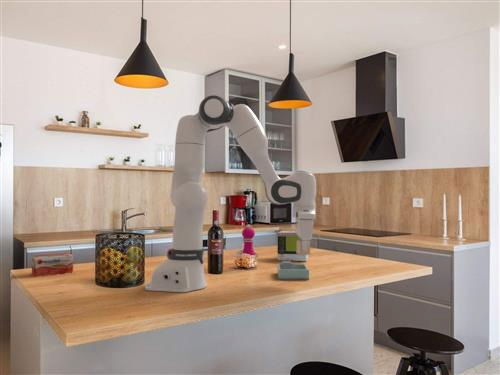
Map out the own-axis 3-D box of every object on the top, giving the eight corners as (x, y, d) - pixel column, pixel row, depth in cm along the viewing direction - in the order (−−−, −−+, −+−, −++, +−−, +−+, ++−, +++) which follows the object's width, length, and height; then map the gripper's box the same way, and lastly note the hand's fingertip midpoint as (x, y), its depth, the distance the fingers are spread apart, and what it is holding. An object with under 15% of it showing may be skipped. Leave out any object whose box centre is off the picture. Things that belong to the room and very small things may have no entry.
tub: (279, 279, 165) (279, 269, 166) (277, 273, 178) (277, 263, 178) (309, 279, 165) (309, 269, 165) (305, 273, 178) (305, 264, 178)
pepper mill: (254, 268, 188) (254, 225, 188) (238, 268, 189) (239, 225, 189) (257, 266, 195) (257, 224, 195) (242, 265, 196) (242, 223, 197)
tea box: (308, 258, 217) (308, 230, 217) (306, 262, 207) (306, 232, 207) (280, 257, 220) (280, 230, 221) (277, 260, 211) (277, 231, 211)
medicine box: (34, 277, 168) (34, 258, 168) (31, 274, 174) (31, 255, 174) (73, 273, 176) (73, 254, 177) (69, 270, 183) (69, 252, 183)
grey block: (282, 274, 172) (282, 262, 172) (281, 272, 176) (281, 261, 176) (291, 274, 172) (291, 262, 172) (290, 272, 176) (290, 261, 176)
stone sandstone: (300, 254, 154) (300, 241, 154) (296, 253, 158) (296, 240, 158) (309, 254, 155) (310, 241, 155) (306, 253, 159) (306, 240, 159)
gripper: (293, 211, 167) (292, 245, 167) (298, 214, 147) (297, 252, 147) (308, 212, 167) (307, 246, 167) (316, 214, 147) (315, 253, 147)
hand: (303, 249), depth 157 cm, fingers closed on stone sandstone, 5 cm apart
